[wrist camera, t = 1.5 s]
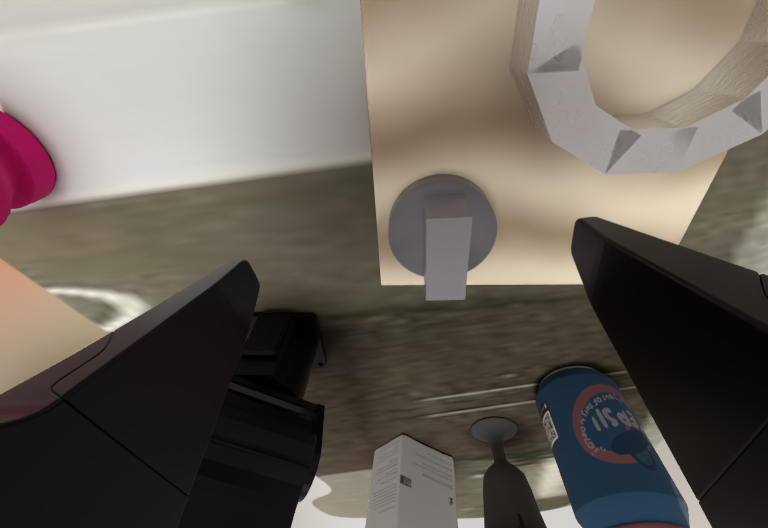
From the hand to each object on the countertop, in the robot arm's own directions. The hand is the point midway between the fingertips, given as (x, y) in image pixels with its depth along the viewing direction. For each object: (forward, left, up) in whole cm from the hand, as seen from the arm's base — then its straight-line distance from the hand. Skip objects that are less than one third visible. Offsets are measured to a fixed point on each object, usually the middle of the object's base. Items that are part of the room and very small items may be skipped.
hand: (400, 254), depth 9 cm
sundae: (-31, -9, -13) cm, 35 cm away
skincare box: (-37, 0, -13) cm, 39 cm away
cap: (-5, -2, -11) cm, 13 cm away
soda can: (-23, -15, -13) cm, 30 cm away
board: (0, -8, -13) cm, 15 cm away
